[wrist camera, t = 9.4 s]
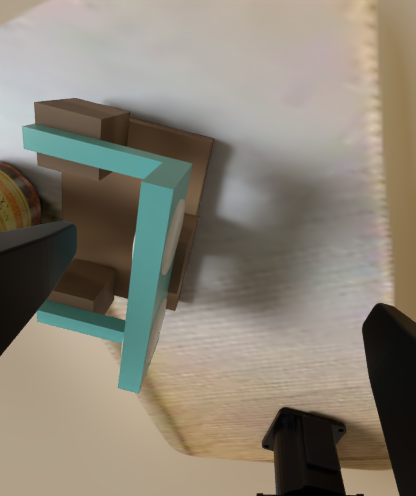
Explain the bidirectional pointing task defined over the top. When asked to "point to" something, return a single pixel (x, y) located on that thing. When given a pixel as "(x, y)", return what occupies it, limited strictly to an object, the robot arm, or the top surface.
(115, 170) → the glasses
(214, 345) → the top surface
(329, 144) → the top surface
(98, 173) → the stand
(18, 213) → the sauce bottle
